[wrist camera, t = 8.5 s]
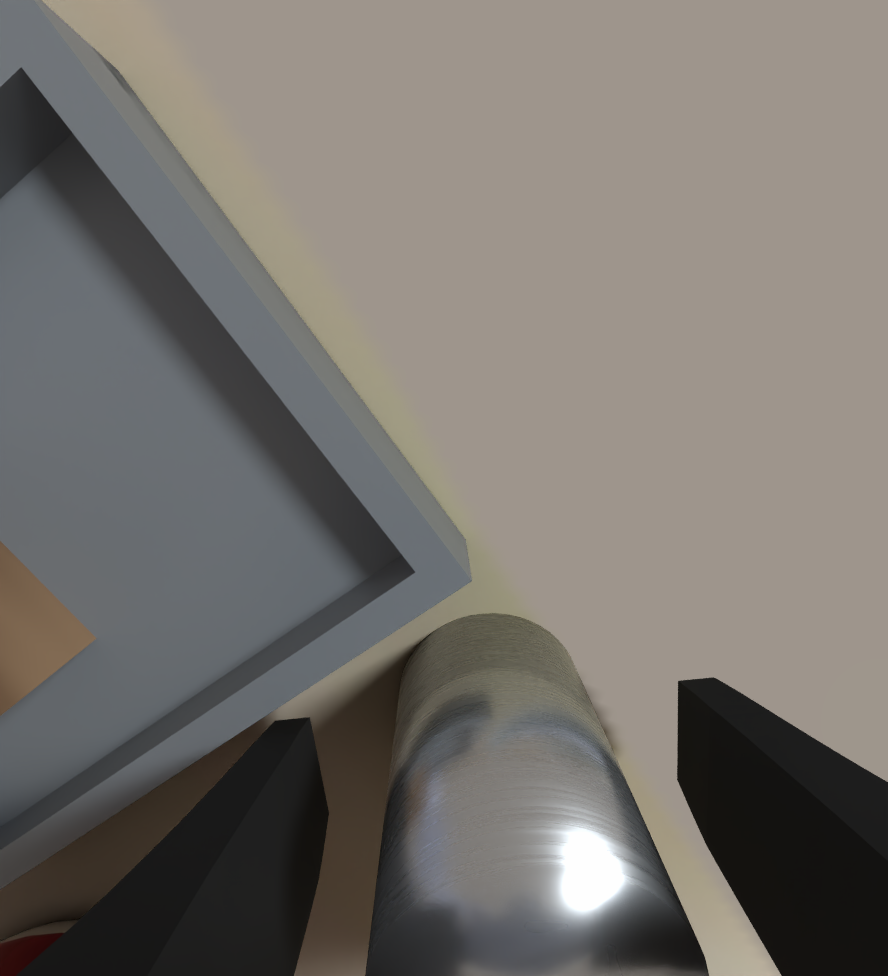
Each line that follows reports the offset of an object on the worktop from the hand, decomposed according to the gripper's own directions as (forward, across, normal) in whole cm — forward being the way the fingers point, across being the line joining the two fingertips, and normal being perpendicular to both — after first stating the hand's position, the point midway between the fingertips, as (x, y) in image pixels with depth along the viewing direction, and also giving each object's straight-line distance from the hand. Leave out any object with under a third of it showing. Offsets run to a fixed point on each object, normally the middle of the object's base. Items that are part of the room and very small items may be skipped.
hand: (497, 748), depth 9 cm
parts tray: (+1, +8, -4) cm, 9 cm away
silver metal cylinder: (+1, 0, 0) cm, 1 cm away
